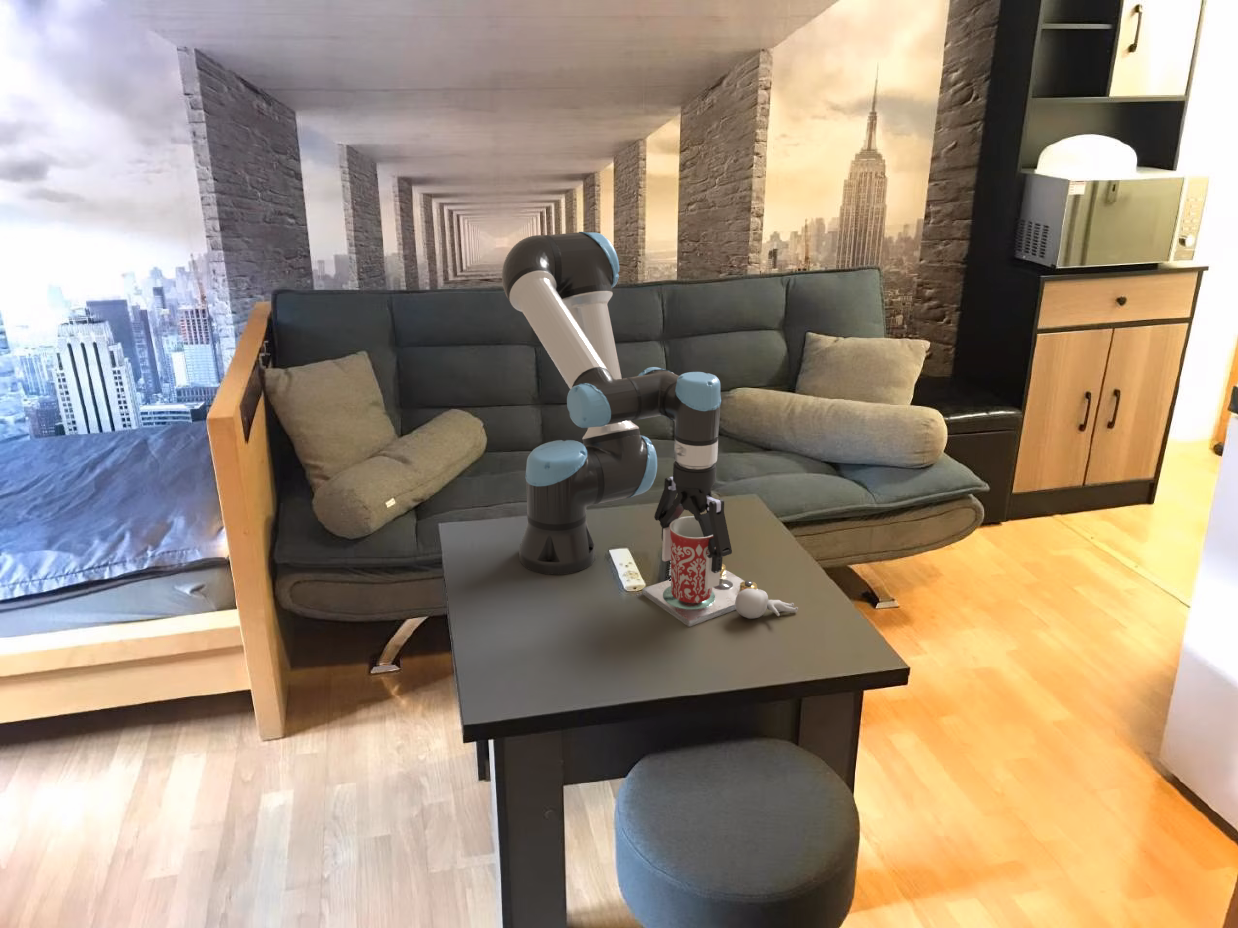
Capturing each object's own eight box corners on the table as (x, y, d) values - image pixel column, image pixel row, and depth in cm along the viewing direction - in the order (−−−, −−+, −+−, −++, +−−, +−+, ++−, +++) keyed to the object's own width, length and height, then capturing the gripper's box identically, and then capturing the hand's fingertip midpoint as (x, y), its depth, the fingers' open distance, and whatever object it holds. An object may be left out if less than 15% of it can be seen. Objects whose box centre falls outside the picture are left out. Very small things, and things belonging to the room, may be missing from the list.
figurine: (809, 608, 172) (752, 598, 168) (798, 634, 174) (741, 625, 169) (788, 587, 179) (733, 577, 175) (778, 612, 181) (723, 603, 176)
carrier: (642, 594, 181) (642, 579, 180) (716, 569, 191) (717, 555, 190) (689, 626, 171) (689, 611, 169) (764, 599, 180) (765, 584, 179)
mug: (722, 603, 173) (726, 535, 168) (673, 608, 171) (676, 539, 166) (703, 571, 184) (707, 506, 179) (657, 574, 183) (659, 509, 178)
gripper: (637, 445, 176) (634, 552, 184) (723, 489, 157) (716, 605, 165) (670, 437, 180) (666, 542, 188) (758, 479, 161) (749, 593, 169)
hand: (689, 572), depth 177 cm, fingers closed on mug, 12 cm apart
